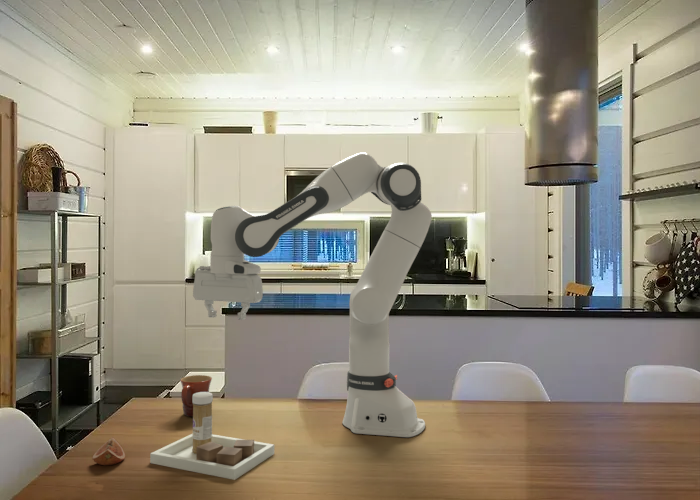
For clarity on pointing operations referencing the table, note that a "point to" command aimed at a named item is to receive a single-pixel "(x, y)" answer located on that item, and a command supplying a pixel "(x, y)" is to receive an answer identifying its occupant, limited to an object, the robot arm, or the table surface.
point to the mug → (193, 390)
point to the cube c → (245, 447)
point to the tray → (185, 459)
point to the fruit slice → (109, 453)
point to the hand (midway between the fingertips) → (226, 318)
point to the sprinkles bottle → (202, 419)
